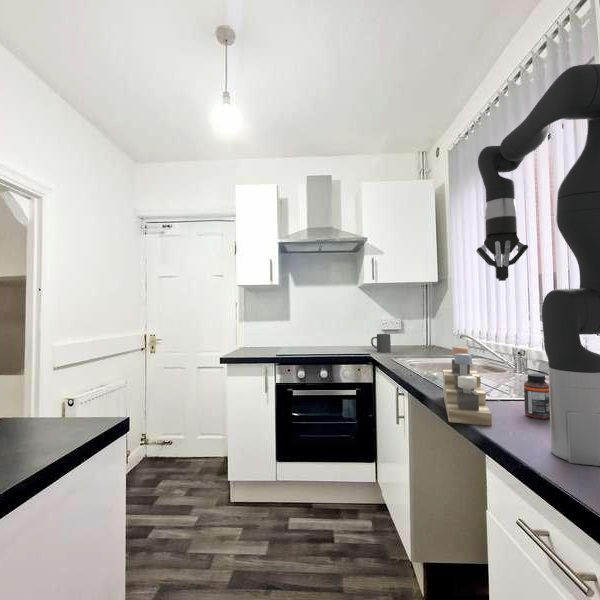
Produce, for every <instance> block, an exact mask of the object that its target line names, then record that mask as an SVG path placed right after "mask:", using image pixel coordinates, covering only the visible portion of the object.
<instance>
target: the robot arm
mask: <svg viewBox="0 0 600 600" xmlns="http://www.w3.org/2000/svg"><path fill="white" fill-rule="evenodd" d="M560 120H569V121H570V120H571V121H573V120H587V132H586V138H585V144H584V146H583V148H582V151H581V153H580V154H579V157H578V158H577V159H576V161H574V164H573V165H572V167H570V169H569V170H568V172H567V174H566V175H565V177H564V178H563V179H562V181H561V183H560V185H559V188H558V190H557V194H556V195H557V197H556V225H557V228H558V231H559V232H560V235H561V236H562V238H563V239H564V241H565V243H566V244H567V246H568V247H569V249H570V250H571V252H572V254H573V256H574V257H575V259H576V262H577V265H578V270H579V288H556V289H553V290H552V289H551V290H550V291H548V293H547V294H546V295H545V296H544V299H543V300H542V307H541V321H542V332H543V341H544V343H543V344H544V345H543V346H544V352H545V354H546V357H547V360H548V362H547V363H548V384H549V401H550V418H549V426H550V427H549V428H550V430H549V431H550V451H551V453H552V454H553V455H554V456H556V457H558V458H561V459H562V460H565V461H567V463H570V464H577V465H586V466H595V467H596V466H597V467H600V353H597V352H594V351H591V350H589V349H587V348H586V347H584V346H583V344H582V341H581V335H600V63H591V64H578V65H574V66H571V67H569V68H567V69H565V70H564V71H563V72H562V73H561V74H560V75H559V76H558V77H557V78H556V79H555V80H554V81H553V82H552V84H551V85H550V86H549V88H548V89H547V90H546V91H545V93H544V94H543V95H542V97H541V98H540V99H539V100H538V102H537V103H536V105H535V106H534V107H533V109H531V111H530V112H529V114H528V115H527V116H526V117H525V119H524V120H523V121H522V122H521V123H520V124H518V126H517V127H515V128H514V129H512V131H511V132H510V133H508V134H507V135H506V136H505V137H504V138H503V140H502V141H501V143H500V145H488V146H486V147H484V148H483V149H482V150H481V151H480V152H479V155H478V158H477V167H478V170H479V173H480V176H481V179H482V183H483V186H484V189H485V212H484V213H485V214H484V220H485V239H484V241H483V244H482V245H481V246H480V247H477V248H476V250H475V251H476V253H477V254H478V255H479V257H481V258H482V260H483V261H484V262H486V264H487V265H488V266H492V267H494V268H495V279H497V280H498V282H505V281H506V280H507V279H508V278H509V266H511V265H515V264H516V263H517V262H518V260H519V259H520V258H521V257H522V256H523V254H525V252H526V251H527V250H528V249H529V245H528V244H523V243H522V242H520V238H519V236H518V230H517V229H518V228H517V227H518V225H517V205H516V196H515V195H516V194H515V181H514V180H513V179H510V178H508V177H504V176H502V175H500V174H499V173H502V174H503V173H511V172H513V171H515V170H517V169H518V168H519V167H520V165H521V163H522V162H523V160H525V158H526V157H527V156H528V155H529V154H531V153H532V152H534V151H535V150H536V149H538V148H539V147H540V146H541V145H542V144H543V142H544V141H545V140H546V138H547V134H548V131H549V125H550V126H551V124H553V123H555V122H558V121H560ZM515 248H516V249H515ZM514 249H515V250H516V251H517V252H516V253H515V254H514V255H513V257H512V258H511V259H510V257H511V256H510V255H511V253H512V252H513V251H514ZM487 250H488V251H489V252H490V253H491V254H492V255H493V258H492V257H491V256H490V255H489V254H488V253H487V252H488V251H487Z"/></svg>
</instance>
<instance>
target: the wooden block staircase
mask: <svg viewBox="0 0 600 600" xmlns="http://www.w3.org/2000/svg"><path fill="white" fill-rule="evenodd" d="M470 367H471V364H470V365H467V376H473V377H476V378H477V388H475V389H471V393H463V388H460V387H458V376H460V364H455V358H451V369H442V386H443V387H442V388H443V391H442V392H443V393H442V394H443V396H442V397H443V401H444V406H445V410H446V415H447V416H446V417H447V418H448V419H447V420H448V423H458V424H467V425H470V424H471V425H480V426H482V425H483V426H492V424H493V422H492V421H493V417H492V415H493V414H492V412H491V410H490V409H489V407H488V406H487V402H486V401H487V400H486V399H487V398H486V396H487V395H486V392H485V390H484V389H483V387H482V386H481V385H482V384H481V382H482V381H481V375H480V374H479V372H478V371H476V370H470V369H471V368H470Z"/></svg>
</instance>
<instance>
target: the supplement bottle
mask: <svg viewBox="0 0 600 600" xmlns="http://www.w3.org/2000/svg"><path fill="white" fill-rule="evenodd" d="M523 393H524V394H523V397H524V398H523V399H524V403H523V404H524V415H526V416H527V417H529V418H532V419H538V420H547V419H550V401H549V382H548V383H547V382H546V375H544V374H542V373H533V372H532V373H528V374H527V381H525V382H524V383H523Z"/></svg>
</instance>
